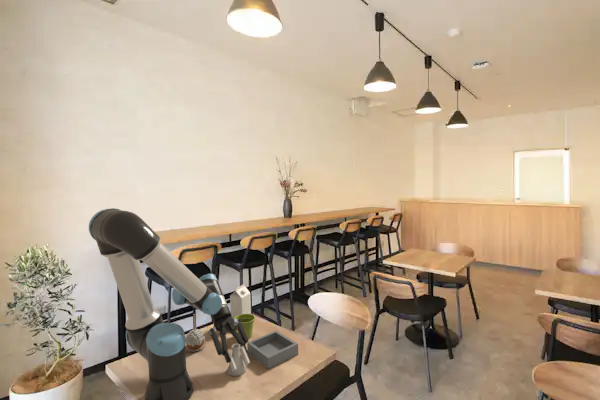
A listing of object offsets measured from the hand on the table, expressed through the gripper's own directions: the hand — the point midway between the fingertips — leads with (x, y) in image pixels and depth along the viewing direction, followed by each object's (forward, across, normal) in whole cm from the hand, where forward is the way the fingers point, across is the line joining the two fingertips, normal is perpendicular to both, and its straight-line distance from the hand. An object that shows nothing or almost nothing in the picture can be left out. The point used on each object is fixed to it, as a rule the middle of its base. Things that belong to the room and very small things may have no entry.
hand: (241, 366), depth 119 cm
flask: (0, 0, -5) cm, 5 cm away
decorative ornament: (-18, +5, -24) cm, 30 cm away
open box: (0, -17, -5) cm, 18 cm away
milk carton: (-23, -21, -28) cm, 42 cm away
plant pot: (-14, -16, -19) cm, 29 cm away
